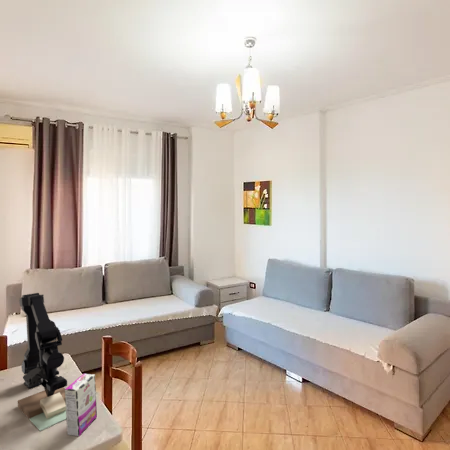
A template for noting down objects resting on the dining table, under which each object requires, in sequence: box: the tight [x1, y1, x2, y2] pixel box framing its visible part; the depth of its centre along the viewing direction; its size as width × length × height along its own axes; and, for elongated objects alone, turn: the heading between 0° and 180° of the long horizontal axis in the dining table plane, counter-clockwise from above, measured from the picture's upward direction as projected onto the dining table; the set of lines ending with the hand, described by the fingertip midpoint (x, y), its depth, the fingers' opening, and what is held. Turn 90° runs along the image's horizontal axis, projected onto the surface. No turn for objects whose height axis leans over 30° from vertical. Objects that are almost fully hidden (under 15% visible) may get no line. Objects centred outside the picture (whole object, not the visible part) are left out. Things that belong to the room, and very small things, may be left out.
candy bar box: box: [65, 373, 98, 437], centre depth 124 cm, size 11×5×16 cm, turn 168°
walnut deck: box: [17, 387, 66, 419], centre depth 138 cm, size 12×16×2 cm
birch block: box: [40, 392, 66, 418], centre depth 132 cm, size 7×7×2 cm
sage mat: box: [29, 411, 66, 432], centre depth 131 cm, size 10×16×1 cm, turn 138°
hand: (49, 398), depth 135 cm, fingers closed
